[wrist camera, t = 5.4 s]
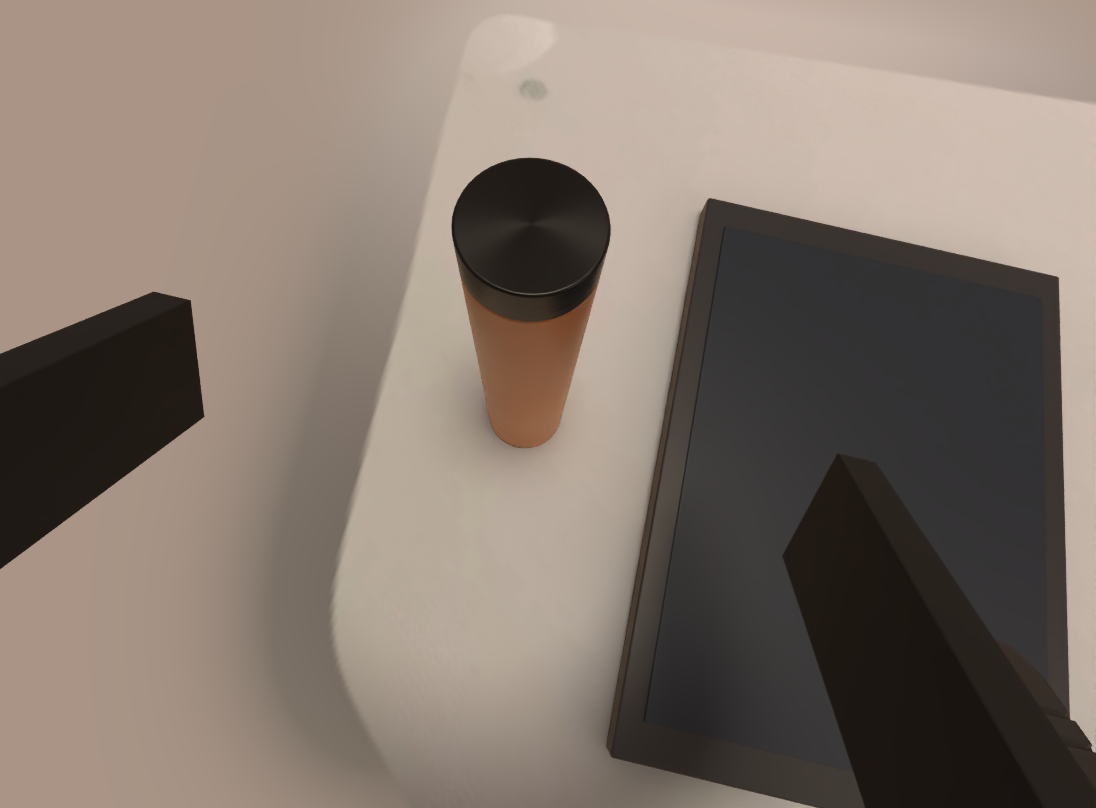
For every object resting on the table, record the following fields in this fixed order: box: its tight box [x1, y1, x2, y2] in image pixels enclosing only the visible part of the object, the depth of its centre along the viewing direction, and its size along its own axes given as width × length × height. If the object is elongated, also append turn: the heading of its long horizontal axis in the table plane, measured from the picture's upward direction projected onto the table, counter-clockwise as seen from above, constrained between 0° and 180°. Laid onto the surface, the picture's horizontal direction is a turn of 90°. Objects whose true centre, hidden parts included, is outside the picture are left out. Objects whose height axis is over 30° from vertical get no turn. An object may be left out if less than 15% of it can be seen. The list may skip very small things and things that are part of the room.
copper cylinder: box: [452, 158, 611, 448], centre depth 15 cm, size 3×3×12 cm
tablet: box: [606, 198, 1070, 808], centre depth 20 cm, size 14×20×1 cm
